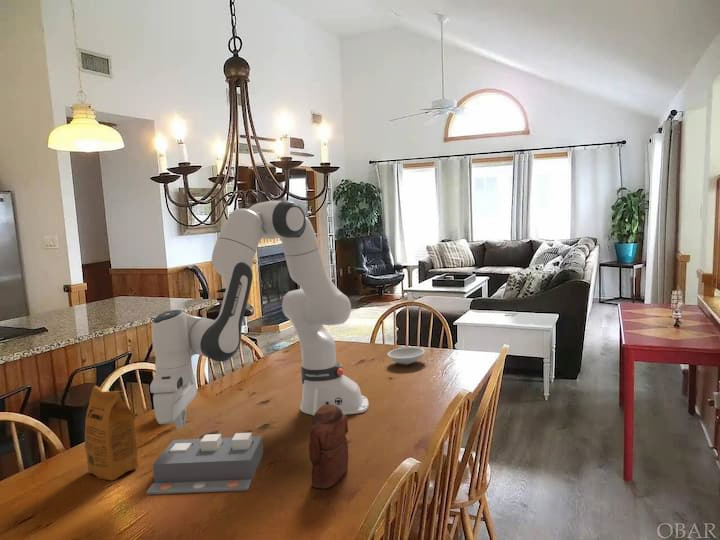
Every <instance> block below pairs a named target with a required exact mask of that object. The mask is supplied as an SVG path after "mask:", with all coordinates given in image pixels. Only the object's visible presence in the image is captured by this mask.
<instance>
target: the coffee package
mask: <svg viewBox="0 0 720 540" xmlns="http://www.w3.org/2000/svg"><path fill="white" fill-rule="evenodd" d="M123 396H124V392H123V391H121V390H112V391H110V390H109V391H103V390H102V388H101V387H100V386H98V385H95V386H93V388H92V390H91V395H90V398H89V403H88V407H87V409H86V416H85V421H84V423H85V424H84V427H85V428H84V449H85V453H86V463H87V470H88V471H87V472H88V474H91V475H94V476H95V477H97V479H99V480H105V481H115V480H117V479H118V478H119V477H122V476H123V475H125V473H127V472H130V471H133V470H134V469H135V468H137V467H138V466H139V458H138V457H139V456H138V455H139V454H138V443H137V438H136V436H137V433H136V432H137V431H136V427H135V426H136V425H135V414H134V413H133V412H132V410H131V409H130V408H129V406H128V405H127V404H126V403H125V402H124V400H123V398H122V397H123Z"/></svg>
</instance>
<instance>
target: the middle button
mask: <svg viewBox="0 0 720 540" xmlns="http://www.w3.org/2000/svg"><path fill="white" fill-rule="evenodd" d="M222 438H223V437H222V434H221V433H215V434H213V433H212V434H205V435H204V436H203V437H202V438H201V439H202V440H201V441H200V443H201V452H202V451H219V449H220V448H221V446H222Z"/></svg>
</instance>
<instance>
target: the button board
mask: <svg viewBox="0 0 720 540" xmlns="http://www.w3.org/2000/svg"><path fill="white" fill-rule="evenodd" d="M233 437H234V436H232V437H230V436H229V437H221V438H222V446H221V448H220V449H219V451H202V452H201V443H200V441H201V440H202V438H188V439H186V438H185V439H173V440H171V442H170V443H169V444H168V446H166V448H165V449H164V450H163V451H162V452H161V453H160V455H159V456H158V457H157V459H156V460H155V461H154V462H153V463H152V470H153V480H154V483H176V482H200V481H224V480H248V479H251V481H253V479H254V477H255V475H256V472H257V470H258V467H259V465H260V463H261V460H262V459H263V457H264V444H263V436H262V435H261V436H260V435H256V436H255V435H252V446H251V449H249V450H232V439H233ZM176 443H192V447H191V448H190V449H189V451H188V452H179V453H170V450H171V448H172V447H173V446H174V445H175V444H176Z"/></svg>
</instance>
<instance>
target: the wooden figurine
mask: <svg viewBox="0 0 720 540" xmlns="http://www.w3.org/2000/svg"><path fill="white" fill-rule="evenodd" d="M312 424H313V425H312V427H310V432H309V444H308V455H309V456H308V457H309V461H310V463H311V464H312V467H311V487H313V488H316V489H321V490H322V489H323V490H324V489H328V488H331V487H332V486H334V485H336V484H337V483H339V481H340V479H341V478H342V477H343V476H344V475H346V474H347V473H348V468H349V467H348V465H349V464H348V463H349V445H348V439H347V433H348V432H349V427H348V426H349V425H348V418H347V415H344V414H343V413H342V410H341V409H340V408H339V407H337V406H336V405H332V404H326V405H323V406H321V407H320V408H319V409H318V410H317V411H316V412H315V415H314V416H313V419H312Z"/></svg>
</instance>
